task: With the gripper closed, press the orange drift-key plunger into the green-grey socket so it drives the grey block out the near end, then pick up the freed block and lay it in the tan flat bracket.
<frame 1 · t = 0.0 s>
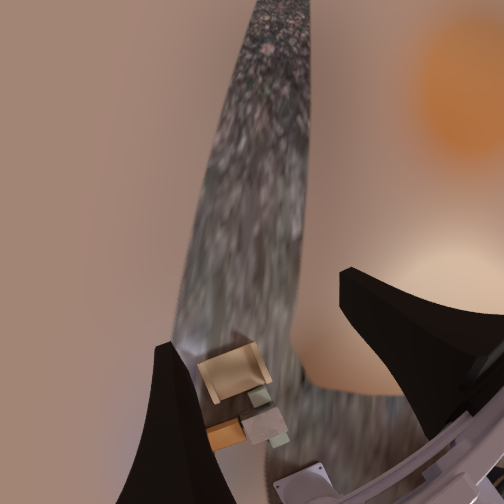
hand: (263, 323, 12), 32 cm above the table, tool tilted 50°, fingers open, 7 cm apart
tan flat bracket: (234, 372, 41), on the table
grey block: (260, 417, 40), on the table
socket: (267, 414, 40), on the table
canister: (452, 476, 38), on the table
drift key: (221, 438, 36), point 3 cm above the table, slide at 0.0 cm
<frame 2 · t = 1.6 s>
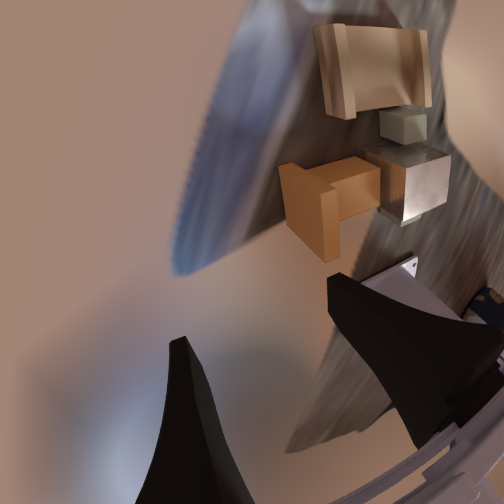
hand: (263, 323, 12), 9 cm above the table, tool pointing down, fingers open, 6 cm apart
tan flat bracket: (369, 66, 18), on the table
grey block: (382, 163, 22), on the table
socket: (391, 161, 22), on the table
canister: (473, 304, 47), on the table
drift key: (342, 197, 19), point 3 cm above the table, slide at 0.0 cm
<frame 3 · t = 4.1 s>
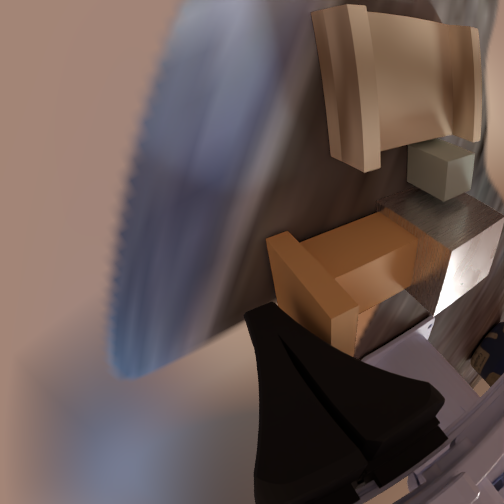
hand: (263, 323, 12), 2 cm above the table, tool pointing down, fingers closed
tan flat bracket: (398, 78, 11), on the table
grey block: (407, 218, 16), on the table
socket: (418, 214, 16), on the table
canister: (484, 339, 40), on the table
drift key: (360, 285, 13), point 3 cm above the table, slide at 0.6 cm, touching gripper
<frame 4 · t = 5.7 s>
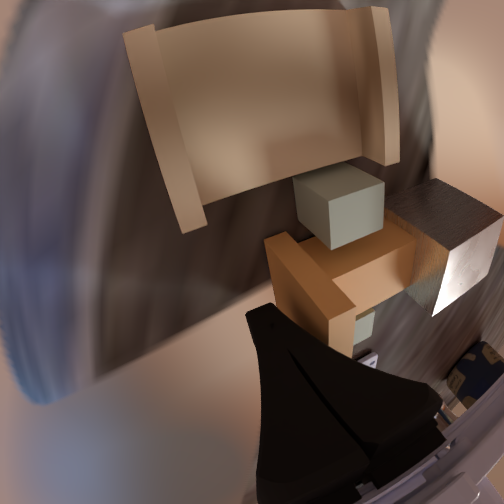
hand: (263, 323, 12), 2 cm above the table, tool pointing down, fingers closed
tan flat bracket: (266, 94, 10), on the table
grey block: (405, 218, 16), on the table
socket: (325, 254, 15), on the table
canister: (462, 359, 39), on the table
beer glass: (427, 405, 45), on the table
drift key: (359, 286, 13), point 3 cm above the table, slide at 7.0 cm, touching gripper
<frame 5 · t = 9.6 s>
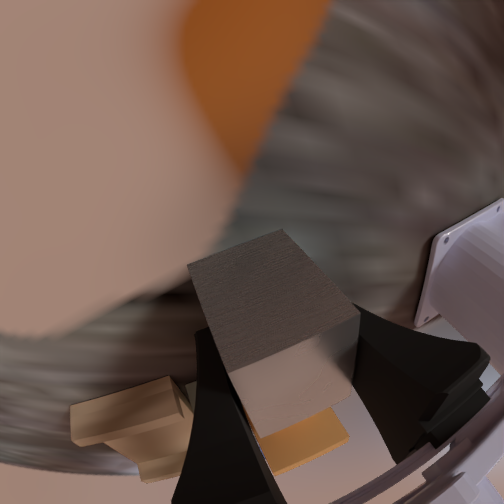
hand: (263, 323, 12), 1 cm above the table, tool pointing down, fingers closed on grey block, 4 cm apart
tan flat bracket: (151, 425, 16), on the table
grey block: (248, 295, 13), on the table, touching gripper
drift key: (289, 405, 14), point 3 cm above the table, slide at 7.0 cm
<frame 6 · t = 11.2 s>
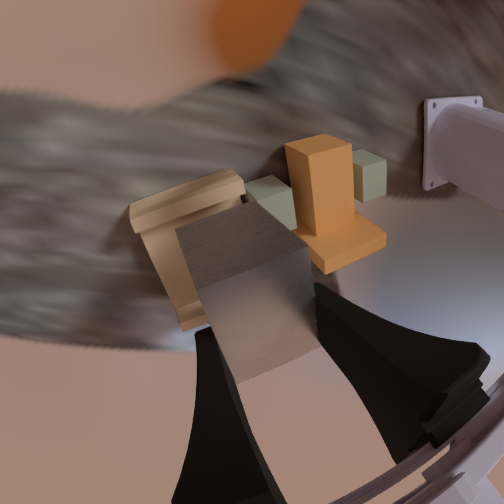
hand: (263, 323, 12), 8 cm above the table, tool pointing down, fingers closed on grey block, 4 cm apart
tan flat bracket: (200, 246, 19), on the table
grey block: (228, 260, 15), point 4 cm above the table, touching gripper
socket: (308, 181, 20), on the table
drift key: (331, 197, 17), point 3 cm above the table, slide at 7.0 cm
when the fingers open (3 cm above the table, at t = 12.7 s): grey block stays where it is, resting on tan flat bracket.
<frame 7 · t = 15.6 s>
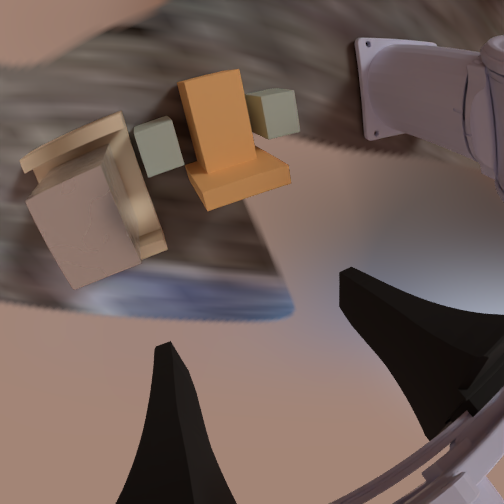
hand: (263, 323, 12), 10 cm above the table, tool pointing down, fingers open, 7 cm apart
tan flat bracket: (97, 193, 17), on the table
grey block: (94, 194, 16), point 1 cm above the table, touching tan flat bracket
socket: (211, 123, 17), on the table
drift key: (223, 129, 15), point 3 cm above the table, slide at 7.0 cm
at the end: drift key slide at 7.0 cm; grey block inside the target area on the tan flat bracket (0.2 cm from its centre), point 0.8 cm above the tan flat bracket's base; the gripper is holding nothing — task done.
